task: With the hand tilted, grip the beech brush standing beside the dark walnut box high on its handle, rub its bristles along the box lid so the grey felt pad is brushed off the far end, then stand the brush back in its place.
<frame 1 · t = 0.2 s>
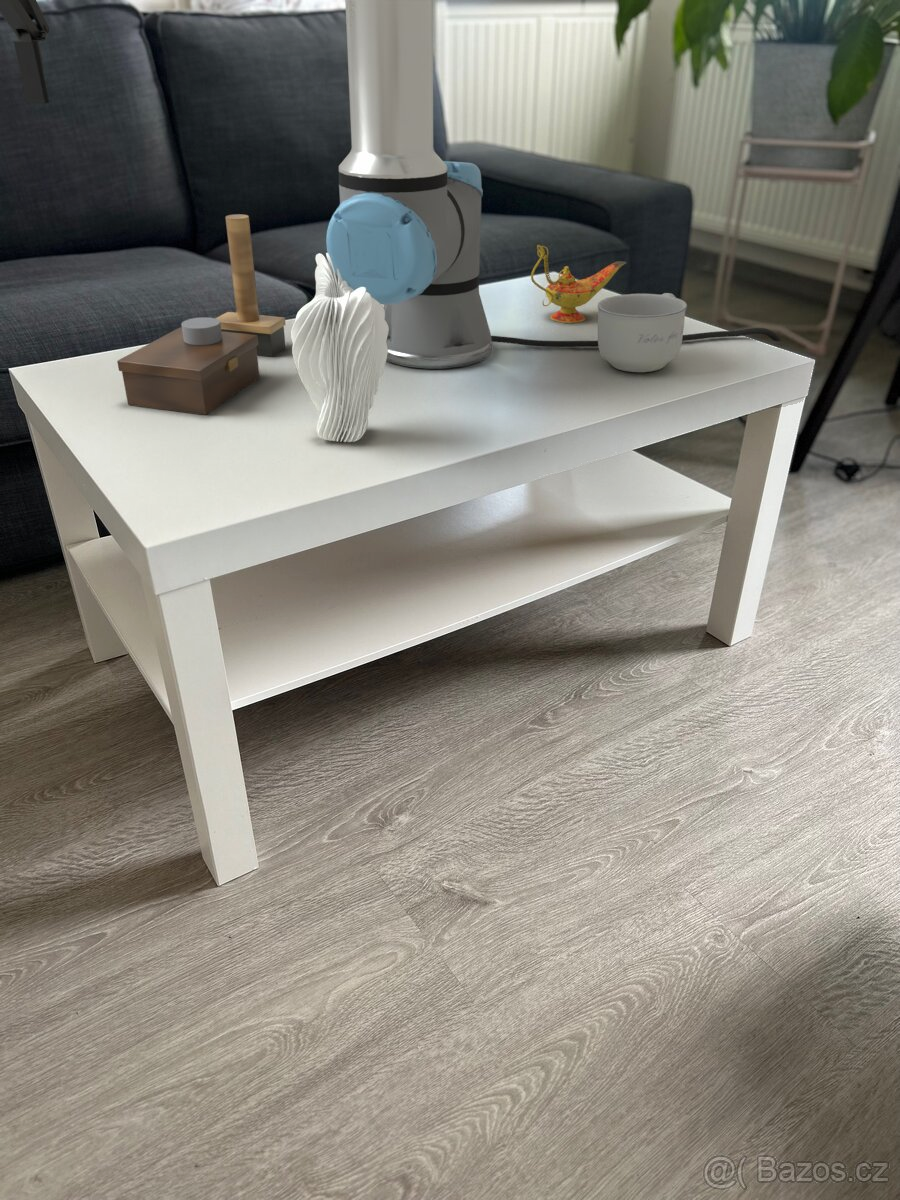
hand: (0, 108, 109), 28 cm above the table, tool pointing down, fingers open, 13 cm apart
walnut box: (196, 390, 109), on the table
shell sculpture: (346, 437, 98), on the table
magic lamp: (575, 317, 137), on the table
brush: (251, 349, 122), on the table
teacup: (642, 364, 119), on the table
felt pad: (203, 339, 109), point 5 cm above the table, touching walnut box
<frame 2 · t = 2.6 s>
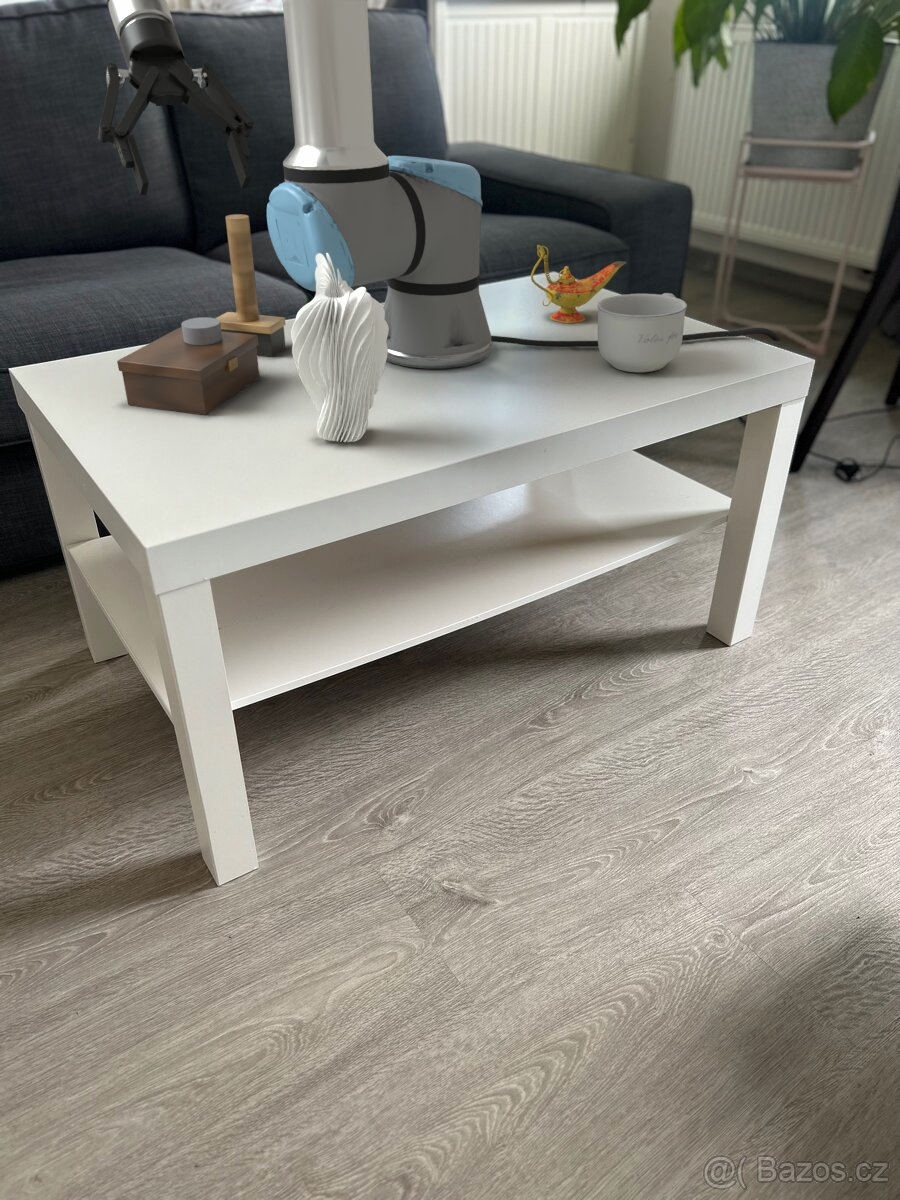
hand: (196, 186, 120), 18 cm above the table, tool tilted 40°, fingers open, 13 cm apart
nothing on the table moved.
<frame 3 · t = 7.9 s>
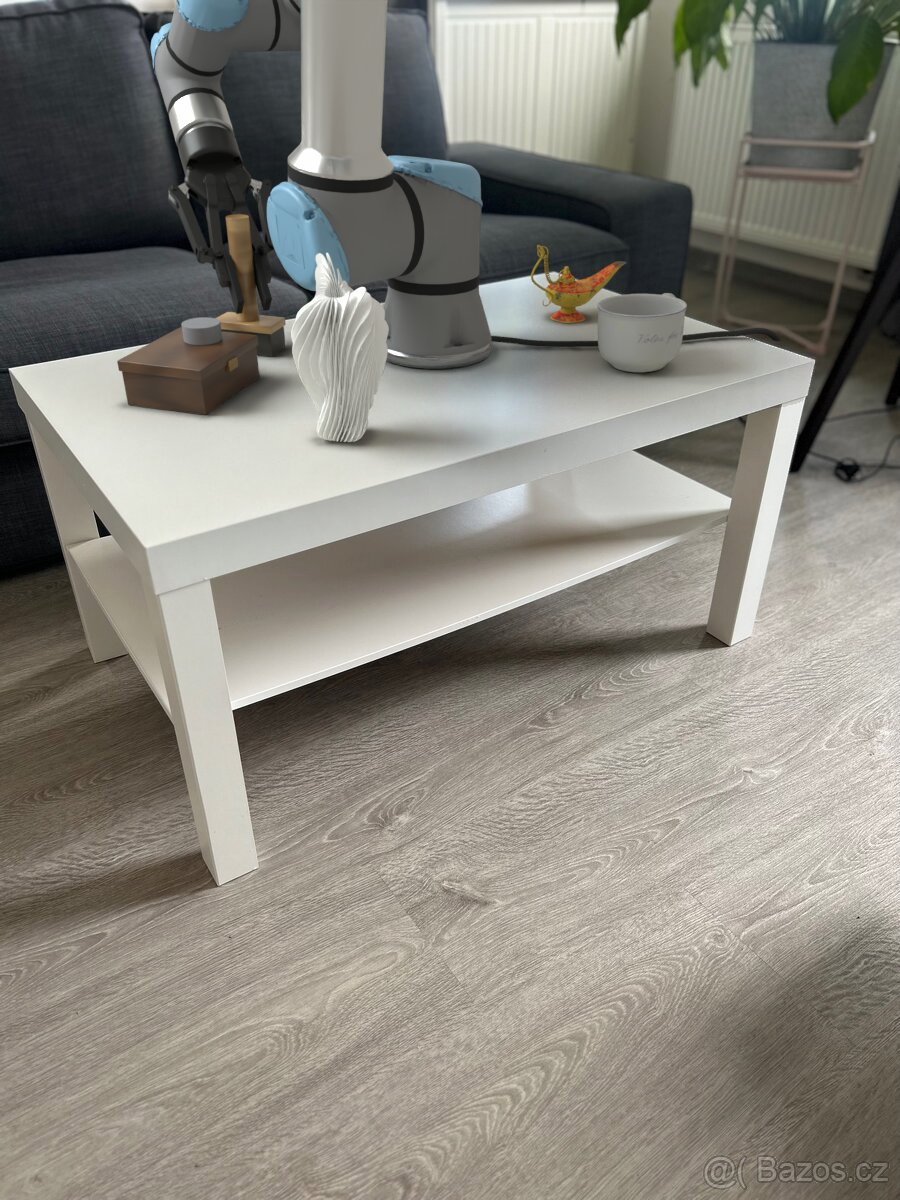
hand: (253, 305, 116), 7 cm above the table, tool tilted 45°, fingers closed on brush, 3 cm apart
brush: (251, 349, 122), on the table, touching gripper
everything else where it was.
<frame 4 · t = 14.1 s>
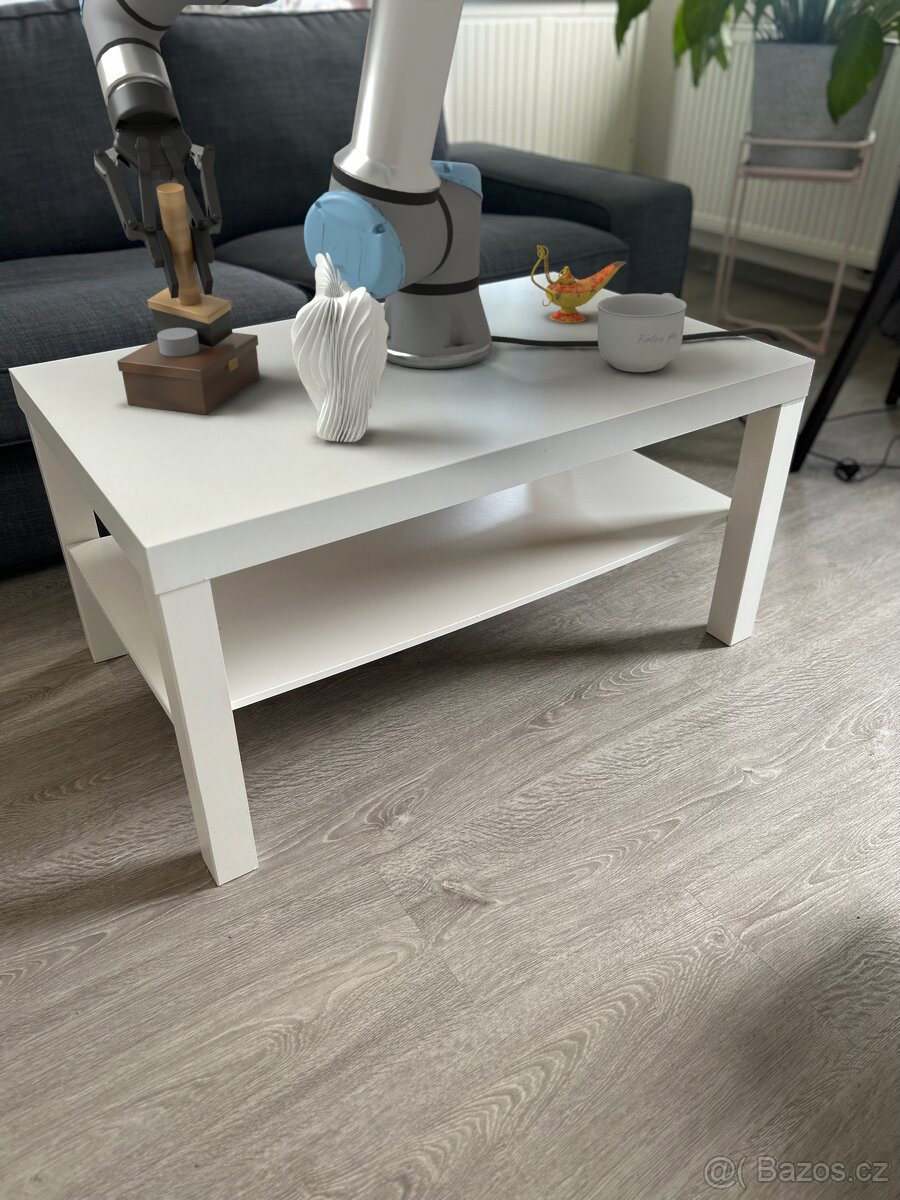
hand: (192, 289, 101), 12 cm above the table, tool tilted 45°, fingers closed on brush, 3 cm apart
brush: (194, 332, 109), point 6 cm above the table, tilted 11°, touching felt pad, gripper
felt pad: (179, 350, 105), point 5 cm above the table, touching brush
everything else where it was.
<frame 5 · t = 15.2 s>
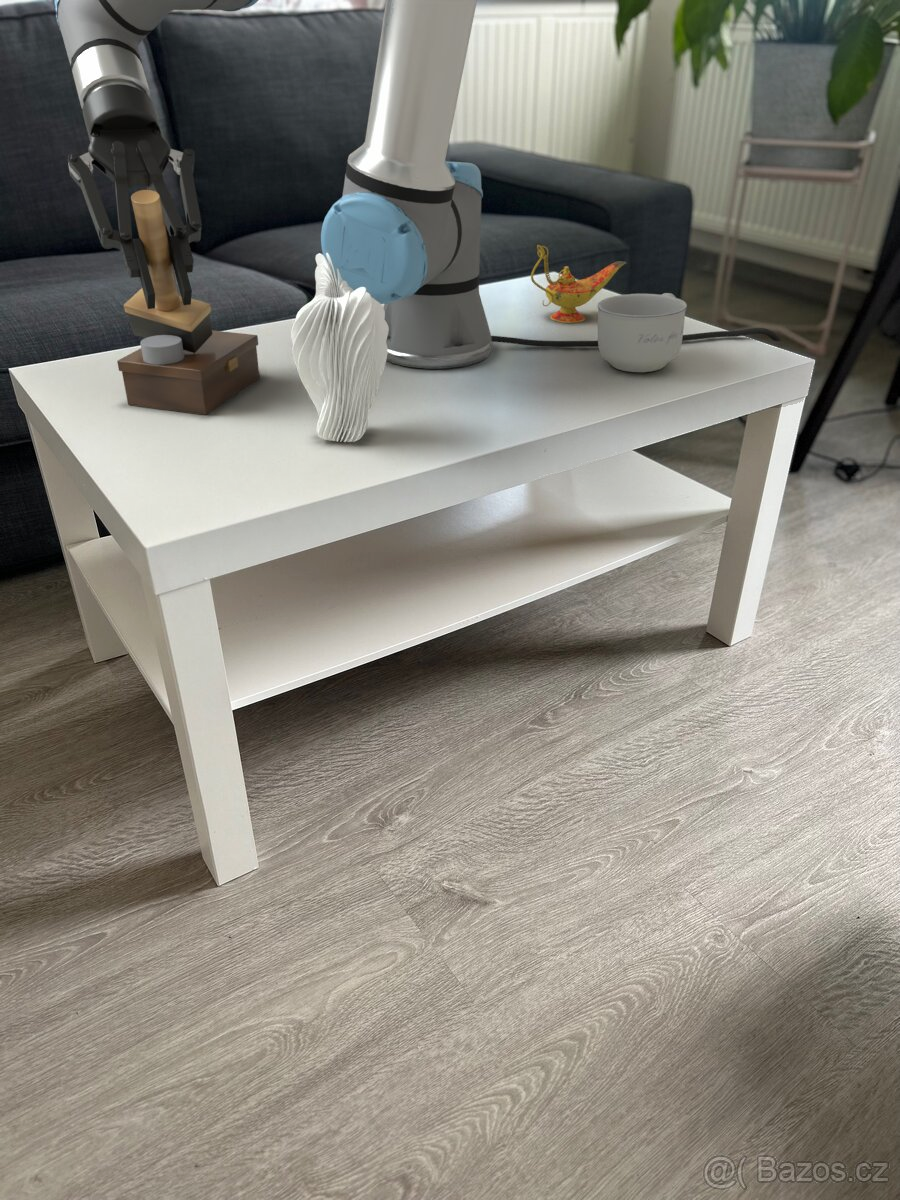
hand: (169, 299, 97), 12 cm above the table, tool tilted 45°, fingers closed on brush, 3 cm apart
brush: (173, 334, 106), point 6 cm above the table, tilted 19°, touching gripper
felt pad: (163, 358, 103), point 5 cm above the table
everything else where it was.
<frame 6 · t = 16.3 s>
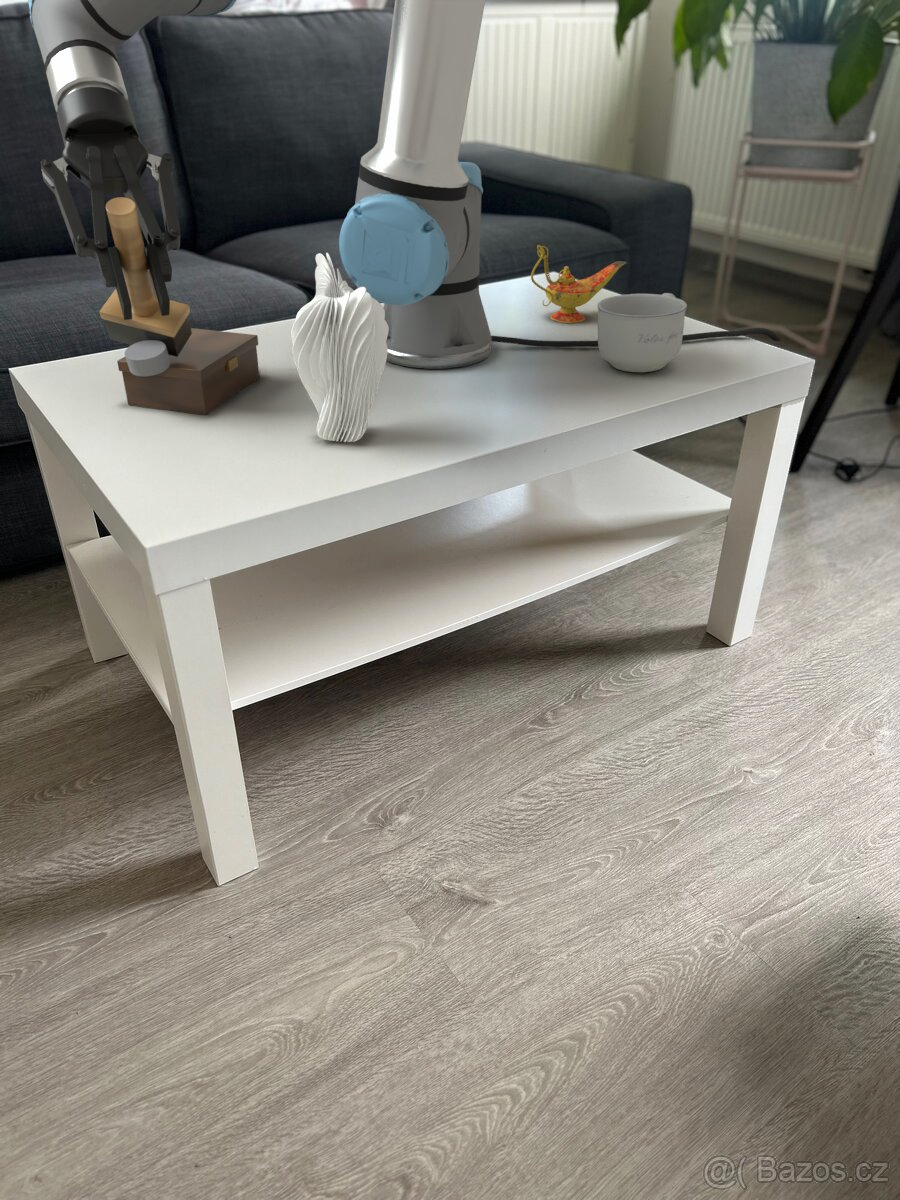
hand: (146, 310, 94), 12 cm above the table, tool tilted 45°, fingers closed on brush, 3 cm apart
brush: (151, 336, 104), point 7 cm above the table, tilted 25°, touching felt pad, gripper
felt pad: (150, 366, 101), point 5 cm above the table, tilted 11°, touching brush, walnut box
everything else where it was.
when the fingers open (7 cm above the table, at t = 24.4 s): brush stays where it is, point 1 cm above the table.
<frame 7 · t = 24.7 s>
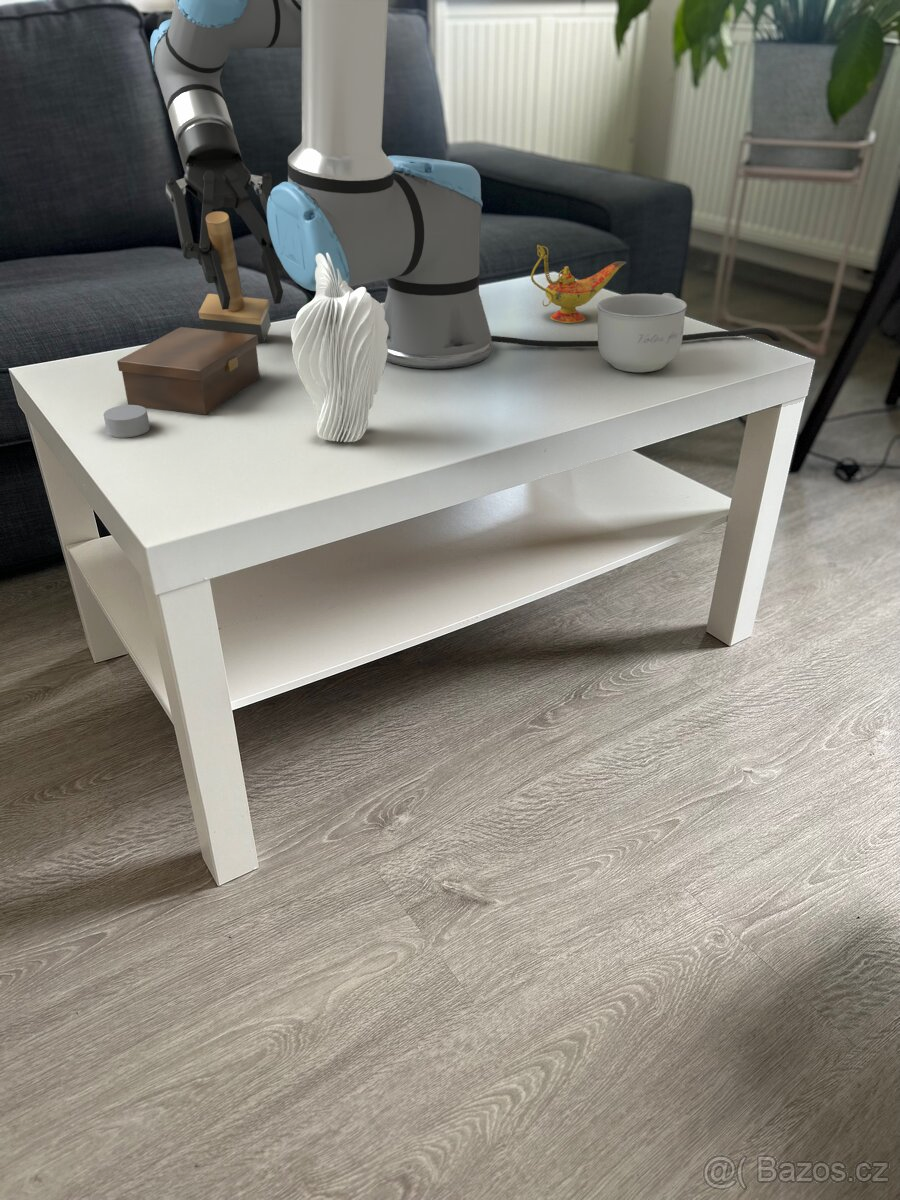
hand: (252, 300, 116), 7 cm above the table, tool tilted 45°, fingers open, 6 cm apart
brush: (238, 331, 126), point 1 cm above the table, tilted 19°, touching gripper
felt pad: (125, 412, 98), point 2 cm above the table, tilted 180°
everything else where it was.
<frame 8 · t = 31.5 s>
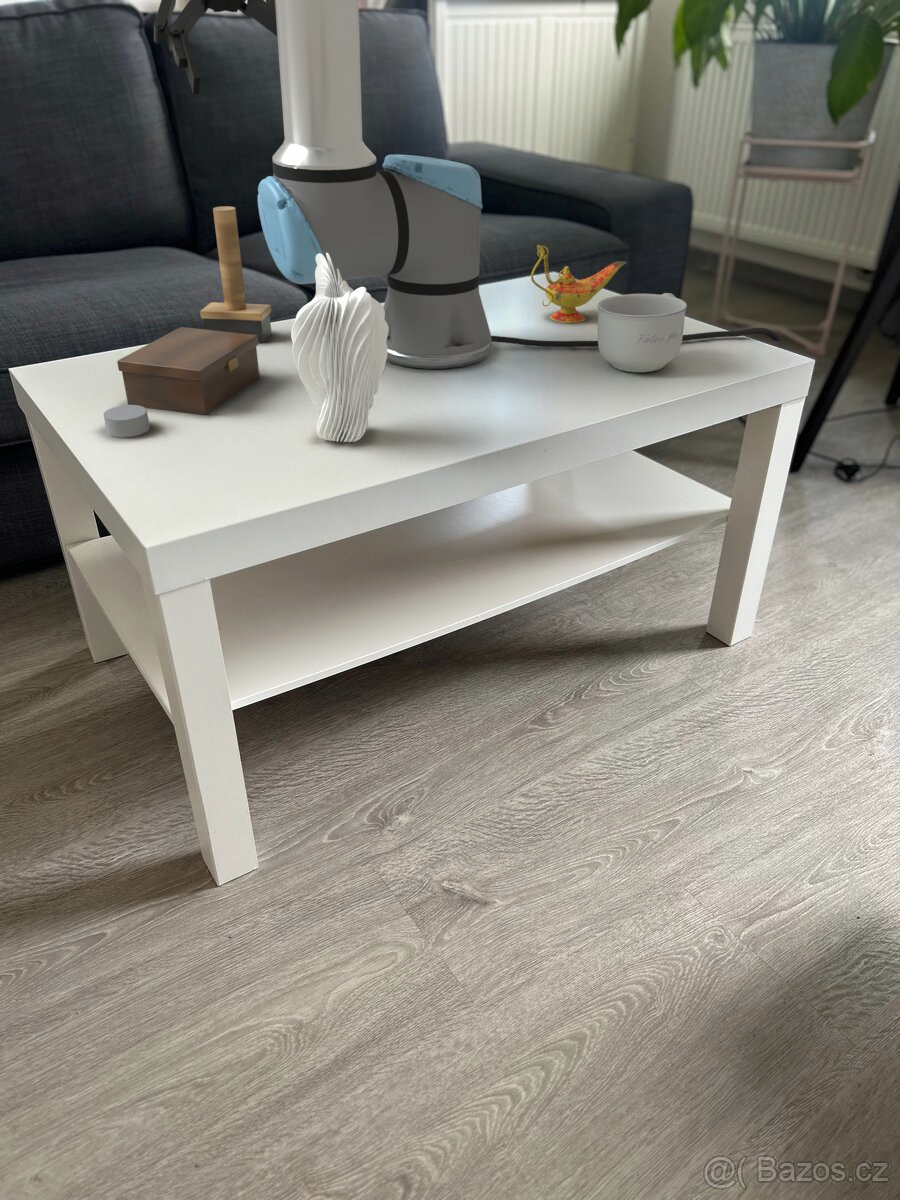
hand: (250, 85, 118), 30 cm above the table, tool tilted 45°, fingers open, 13 cm apart
brush: (239, 337, 127), on the table
everything else where it was.
at the end: felt pad point 2.0 cm above the table; brush tilted 0°; brush inside the target area (5.8 cm from its centre), on the table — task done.
